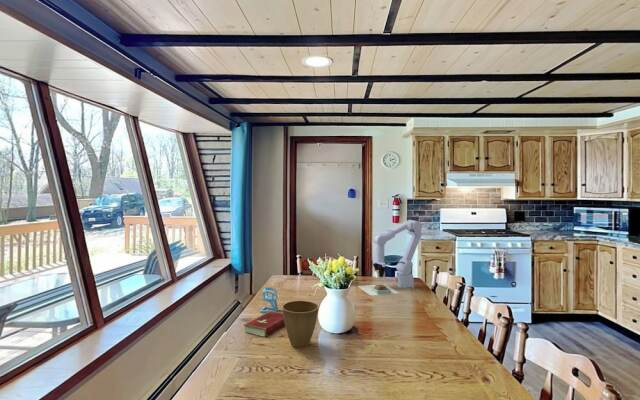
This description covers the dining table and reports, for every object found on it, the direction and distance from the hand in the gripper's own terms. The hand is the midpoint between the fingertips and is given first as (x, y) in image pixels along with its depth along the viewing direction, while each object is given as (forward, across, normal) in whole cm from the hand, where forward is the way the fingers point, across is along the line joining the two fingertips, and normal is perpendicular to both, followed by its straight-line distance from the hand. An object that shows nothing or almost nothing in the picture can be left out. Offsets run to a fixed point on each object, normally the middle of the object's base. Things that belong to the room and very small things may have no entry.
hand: (379, 275), depth 241 cm
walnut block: (+8, +9, -3) cm, 12 cm away
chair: (+9, +24, -73) cm, 77 cm away
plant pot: (+9, +69, -66) cm, 96 cm away
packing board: (+9, +3, -2) cm, 9 cm away
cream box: (+1, 0, 0) cm, 1 cm away
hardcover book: (+10, +46, -76) cm, 90 cm away
